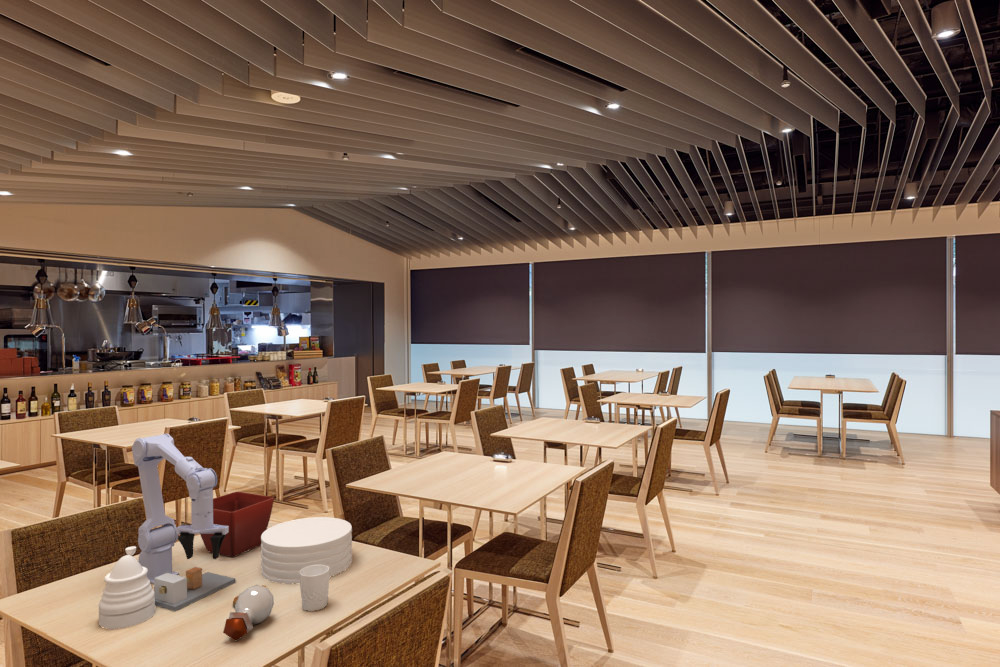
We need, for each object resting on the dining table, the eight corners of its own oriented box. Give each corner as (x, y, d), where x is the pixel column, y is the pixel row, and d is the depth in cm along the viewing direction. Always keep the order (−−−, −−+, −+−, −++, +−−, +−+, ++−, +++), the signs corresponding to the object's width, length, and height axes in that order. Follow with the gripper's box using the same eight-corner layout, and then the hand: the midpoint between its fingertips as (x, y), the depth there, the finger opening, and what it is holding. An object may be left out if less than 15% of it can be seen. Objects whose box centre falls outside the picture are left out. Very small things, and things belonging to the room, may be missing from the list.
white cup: (303, 600, 170) (303, 565, 170) (332, 598, 171) (331, 563, 171) (296, 613, 163) (296, 576, 162) (326, 611, 163) (326, 575, 163)
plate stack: (370, 560, 199) (369, 525, 199) (301, 592, 176) (300, 553, 176) (313, 544, 214) (312, 512, 214) (242, 571, 191) (242, 536, 191)
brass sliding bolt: (157, 600, 168) (156, 582, 168) (195, 583, 178) (194, 566, 178) (164, 602, 166) (164, 584, 166) (202, 585, 177) (201, 568, 177)
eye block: (146, 602, 170) (146, 578, 169) (207, 575, 188) (207, 553, 188) (175, 611, 164) (175, 585, 164) (235, 582, 183) (235, 559, 182)
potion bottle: (269, 617, 164) (242, 653, 149) (239, 596, 163) (209, 631, 149) (286, 591, 162) (261, 625, 147) (256, 571, 162) (228, 603, 147)
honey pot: (120, 605, 168) (118, 542, 168) (165, 606, 168) (163, 542, 167) (86, 629, 155) (85, 560, 155) (135, 629, 155) (134, 560, 154)
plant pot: (276, 543, 215) (275, 496, 215) (232, 562, 198) (231, 512, 198) (237, 536, 223) (236, 491, 223) (192, 554, 206) (191, 505, 205)
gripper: (170, 516, 172) (170, 563, 172) (220, 516, 171) (220, 563, 172) (183, 508, 179) (184, 553, 179) (231, 508, 179) (232, 554, 179)
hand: (202, 557), depth 176 cm, fingers open, 7 cm apart
